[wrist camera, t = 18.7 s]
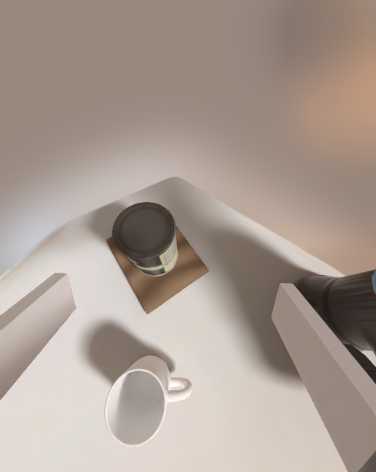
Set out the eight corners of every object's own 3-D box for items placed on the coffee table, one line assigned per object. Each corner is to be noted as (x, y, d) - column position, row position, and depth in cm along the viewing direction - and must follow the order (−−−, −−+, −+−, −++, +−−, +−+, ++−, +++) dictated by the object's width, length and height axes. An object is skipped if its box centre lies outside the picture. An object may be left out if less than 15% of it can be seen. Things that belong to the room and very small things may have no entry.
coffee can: (145, 285, 40) (126, 271, 27) (127, 247, 43) (102, 217, 30) (186, 262, 42) (187, 239, 29) (166, 228, 45) (158, 193, 32)
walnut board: (208, 271, 42) (208, 270, 41) (148, 313, 38) (147, 313, 37) (163, 210, 49) (162, 208, 48) (108, 241, 45) (106, 239, 44)
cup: (127, 356, 35) (107, 371, 26) (189, 350, 36) (190, 363, 27) (125, 411, 32) (100, 451, 23) (192, 404, 33) (196, 440, 23)
